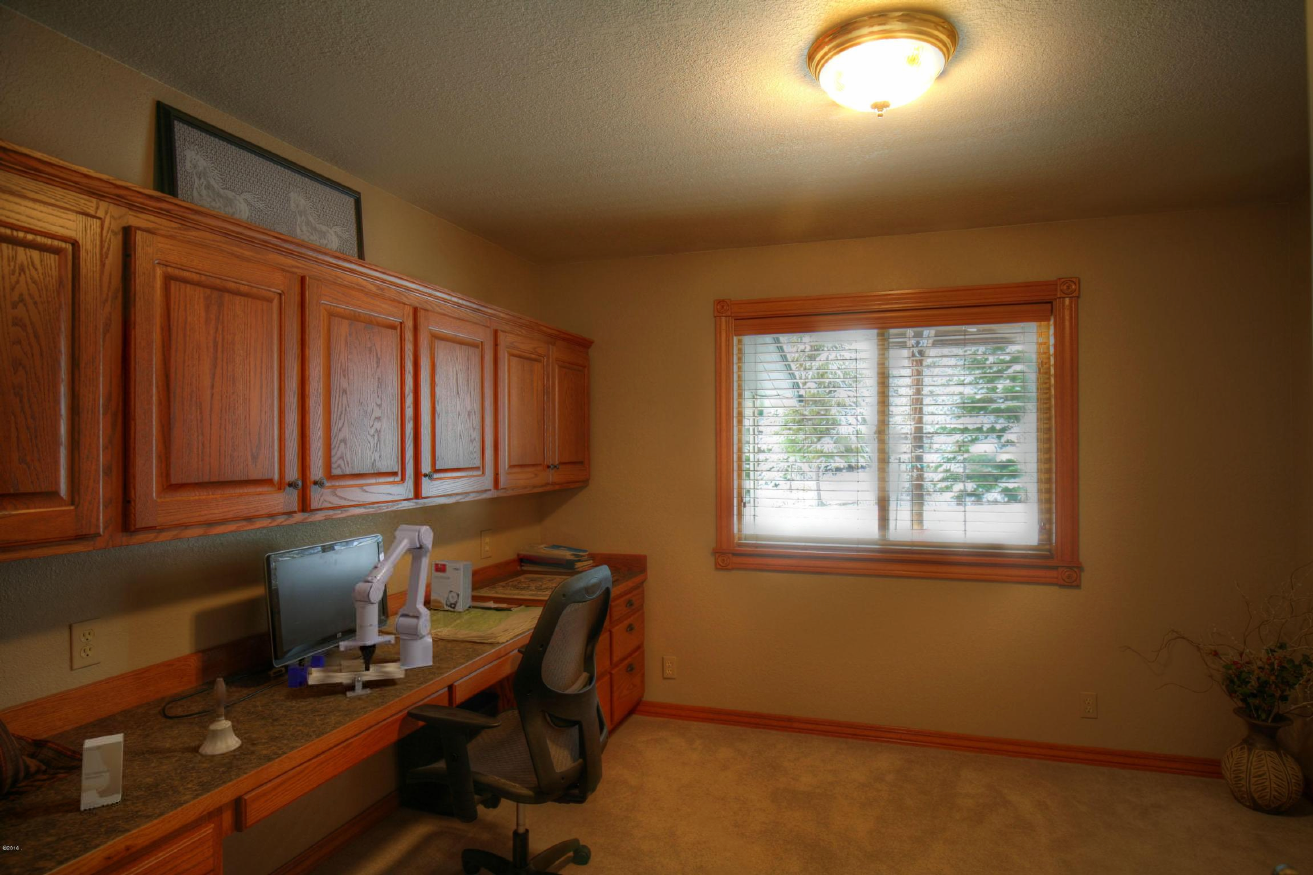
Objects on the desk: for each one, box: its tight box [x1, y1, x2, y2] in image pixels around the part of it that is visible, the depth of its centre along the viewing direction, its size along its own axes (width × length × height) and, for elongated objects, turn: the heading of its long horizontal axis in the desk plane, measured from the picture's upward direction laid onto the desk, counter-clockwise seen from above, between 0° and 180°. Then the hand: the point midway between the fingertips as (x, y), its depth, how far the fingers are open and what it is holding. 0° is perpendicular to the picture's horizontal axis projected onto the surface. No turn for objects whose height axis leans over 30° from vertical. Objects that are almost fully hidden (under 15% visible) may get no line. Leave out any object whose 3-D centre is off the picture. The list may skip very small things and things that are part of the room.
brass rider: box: [339, 659, 365, 673], centre depth 197 cm, size 6×4×3 cm
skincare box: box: [79, 732, 125, 811], centre depth 136 cm, size 6×4×12 cm
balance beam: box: [307, 662, 406, 685], centre depth 198 cm, size 25×7×3 cm, turn 120°
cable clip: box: [287, 653, 325, 689], centre depth 205 cm, size 12×4×6 cm, turn 171°
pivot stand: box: [342, 675, 371, 698], centre depth 198 cm, size 6×11×5 cm, turn 30°
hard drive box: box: [430, 559, 473, 611], centre depth 290 cm, size 16×8×20 cm, turn 72°
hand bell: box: [198, 677, 242, 756], centre depth 160 cm, size 8×8×16 cm
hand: (367, 671), depth 199 cm, fingers closed
